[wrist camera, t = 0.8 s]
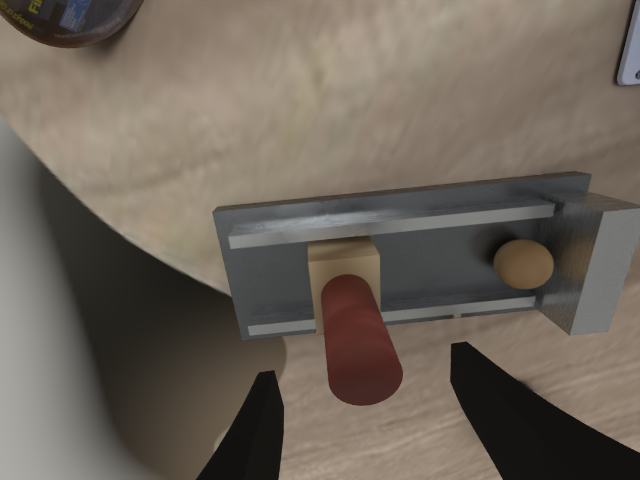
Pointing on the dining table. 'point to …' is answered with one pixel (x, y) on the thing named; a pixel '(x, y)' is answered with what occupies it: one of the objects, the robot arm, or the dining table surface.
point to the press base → (436, 251)
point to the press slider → (352, 320)
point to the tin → (68, 19)
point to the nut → (523, 264)
